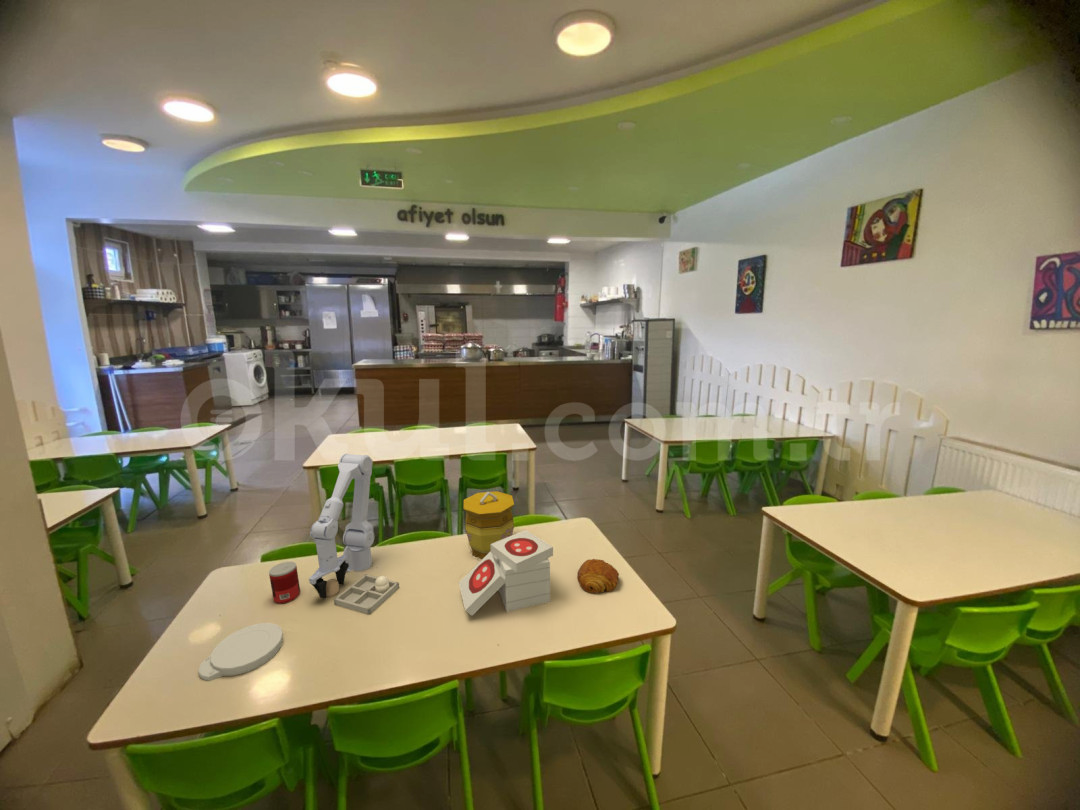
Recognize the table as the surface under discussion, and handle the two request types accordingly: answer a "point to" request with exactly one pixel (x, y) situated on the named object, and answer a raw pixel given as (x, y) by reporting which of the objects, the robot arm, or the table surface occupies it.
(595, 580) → the croissant
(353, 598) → the egg carton
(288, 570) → the canned food
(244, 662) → the lid
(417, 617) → the table surface
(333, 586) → the brown egg
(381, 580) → the cream egg
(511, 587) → the stacked pizza boxes
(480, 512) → the container
